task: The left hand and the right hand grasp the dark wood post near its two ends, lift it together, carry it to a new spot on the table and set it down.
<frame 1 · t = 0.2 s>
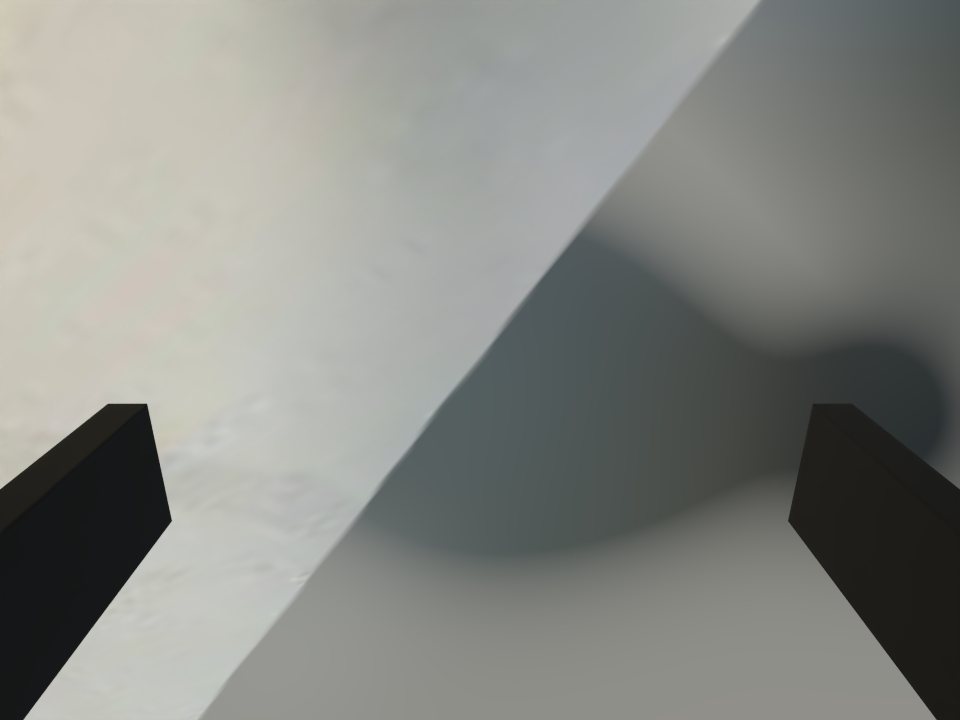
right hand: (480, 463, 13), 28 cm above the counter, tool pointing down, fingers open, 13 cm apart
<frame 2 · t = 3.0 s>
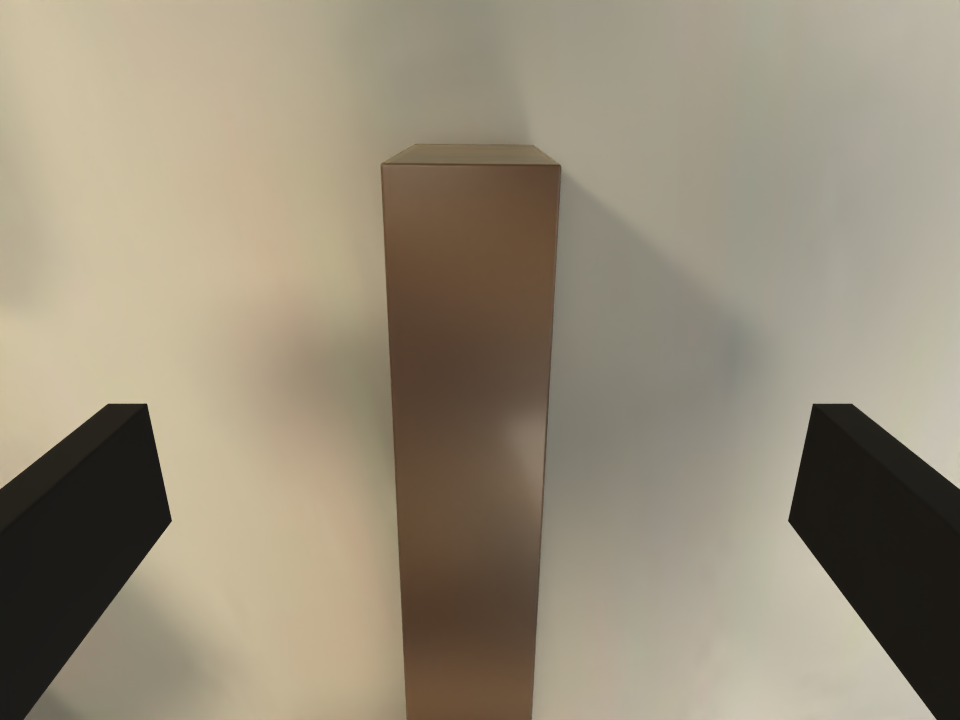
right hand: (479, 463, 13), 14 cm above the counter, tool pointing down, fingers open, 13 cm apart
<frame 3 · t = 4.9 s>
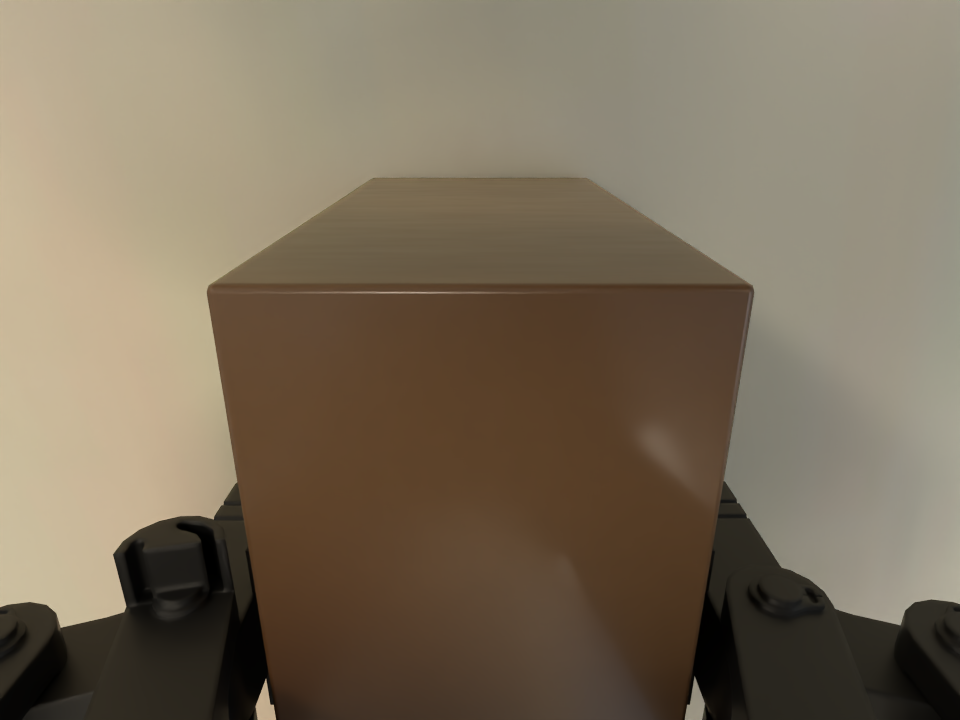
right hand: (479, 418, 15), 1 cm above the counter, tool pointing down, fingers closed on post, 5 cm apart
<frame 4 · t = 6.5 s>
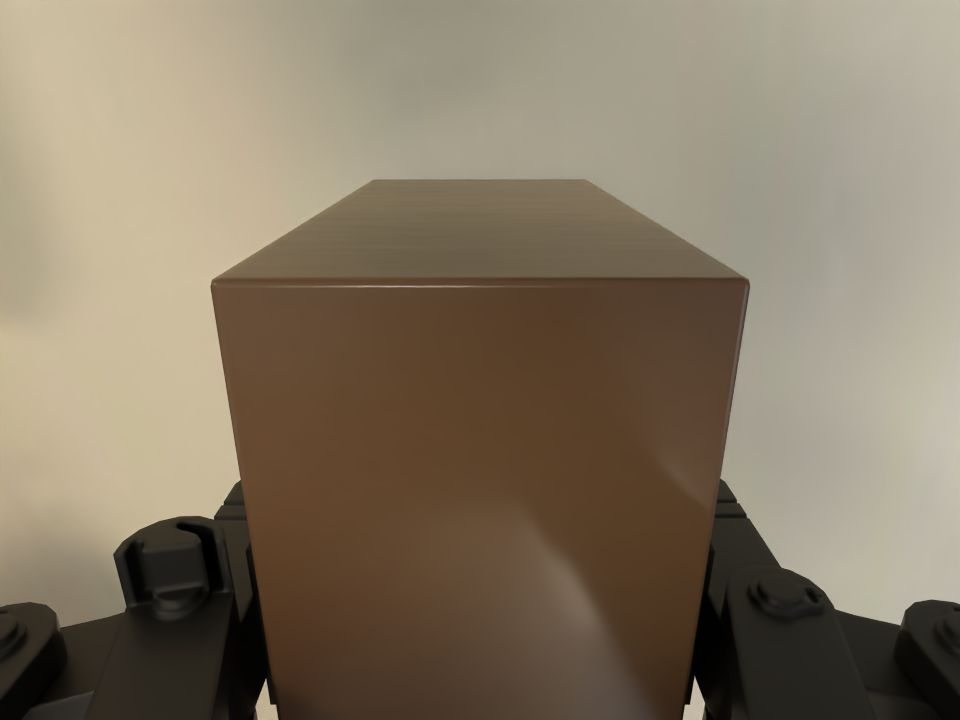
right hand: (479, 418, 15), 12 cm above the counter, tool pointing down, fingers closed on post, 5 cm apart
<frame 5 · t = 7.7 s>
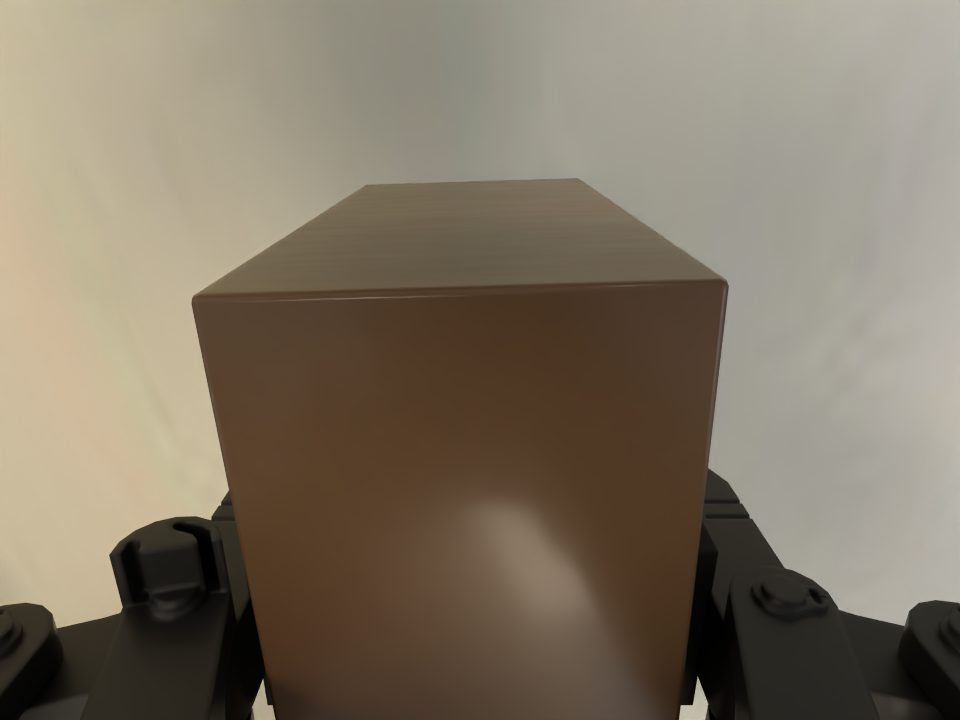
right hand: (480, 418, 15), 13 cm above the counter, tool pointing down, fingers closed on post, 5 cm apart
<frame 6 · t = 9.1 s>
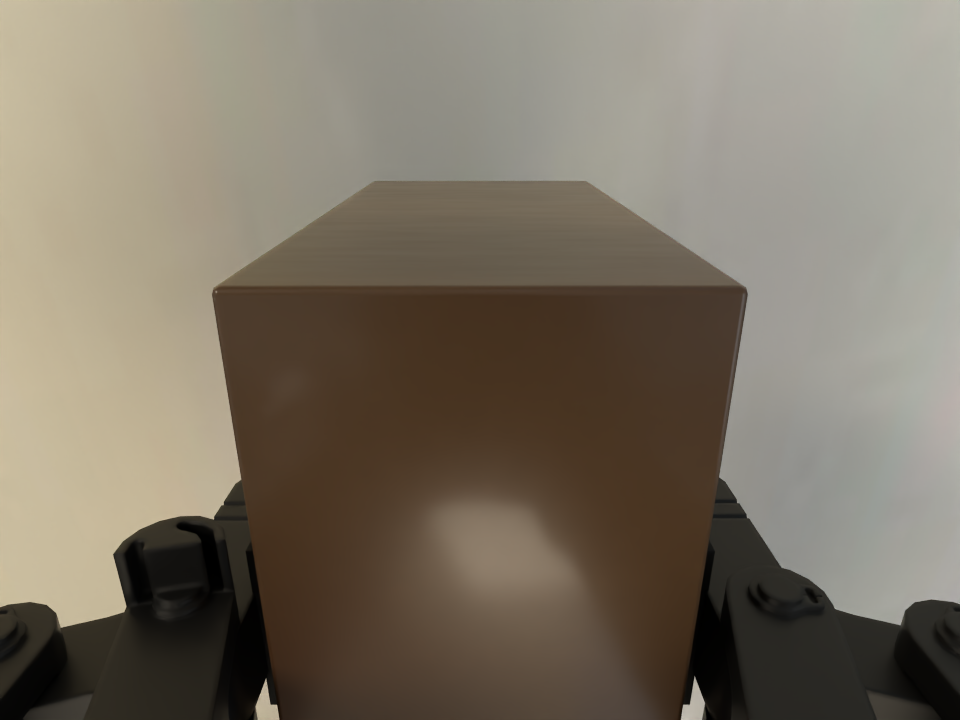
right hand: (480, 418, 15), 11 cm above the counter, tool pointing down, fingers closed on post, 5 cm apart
when the left hand's fingers open (1 cm above the counter, at t = 10.4 s): post stays where it is, on the counter.
when the right hand's fingers open (2 cm above the counter, at t = 10.4 s): post stays where it is, on the counter.
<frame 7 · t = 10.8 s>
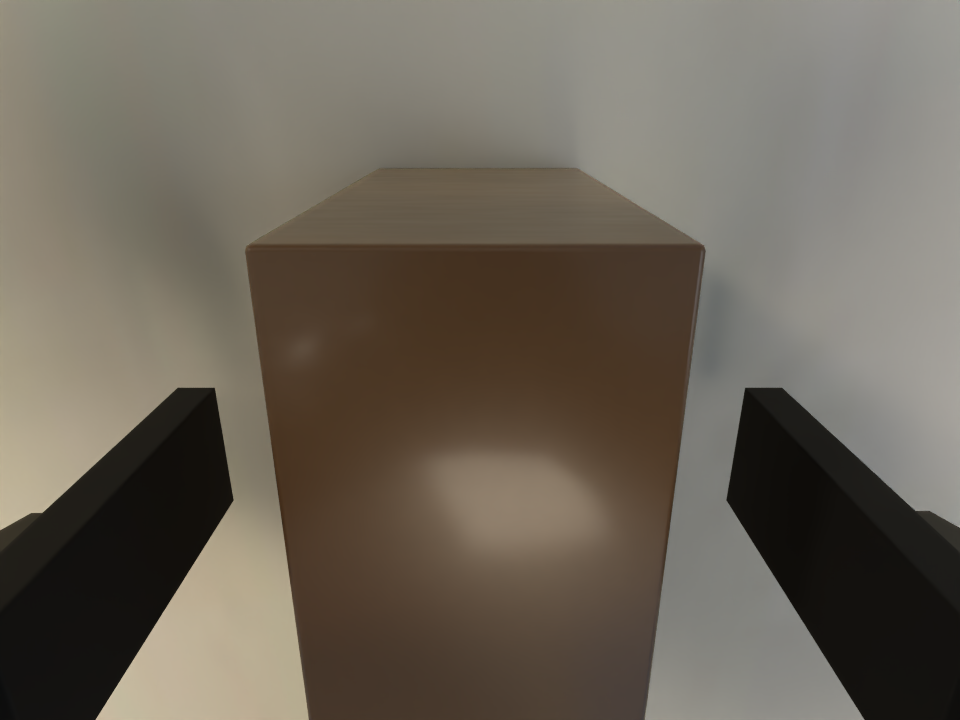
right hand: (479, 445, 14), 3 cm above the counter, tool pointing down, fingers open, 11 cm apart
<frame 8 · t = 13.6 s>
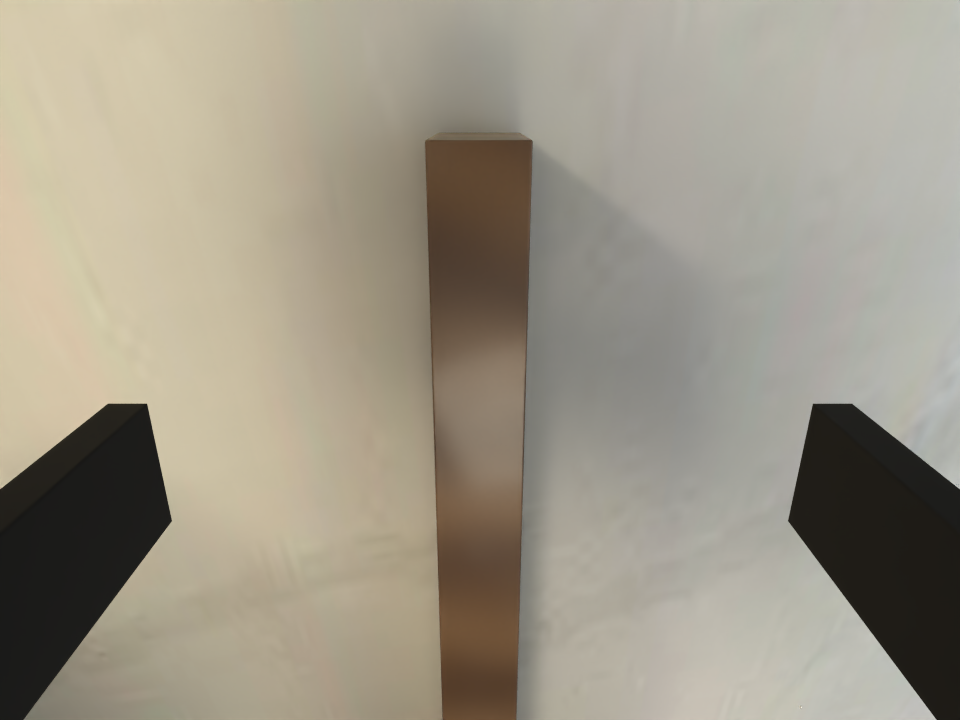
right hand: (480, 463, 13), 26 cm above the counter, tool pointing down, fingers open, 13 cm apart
post: (479, 586, 46), on the counter
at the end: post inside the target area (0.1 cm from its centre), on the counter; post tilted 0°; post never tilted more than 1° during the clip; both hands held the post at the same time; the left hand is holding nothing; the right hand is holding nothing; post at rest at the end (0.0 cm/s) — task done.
